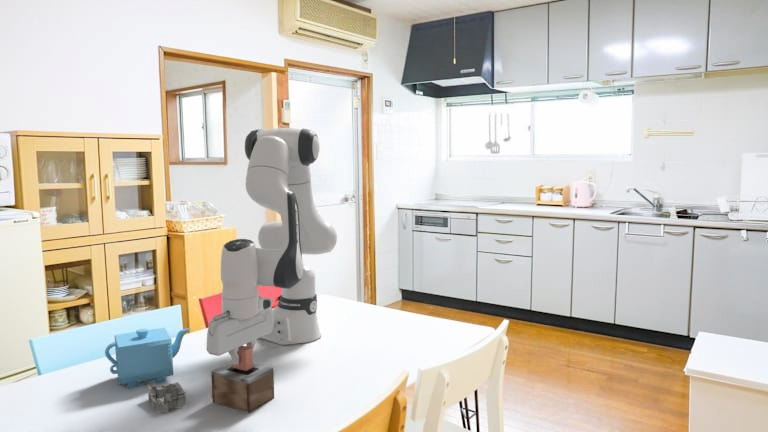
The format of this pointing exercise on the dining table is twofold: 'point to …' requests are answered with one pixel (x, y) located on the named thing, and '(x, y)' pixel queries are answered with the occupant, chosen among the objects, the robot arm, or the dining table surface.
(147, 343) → the teapot
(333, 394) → the dining table surface
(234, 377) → the box
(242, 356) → the block
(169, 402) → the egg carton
